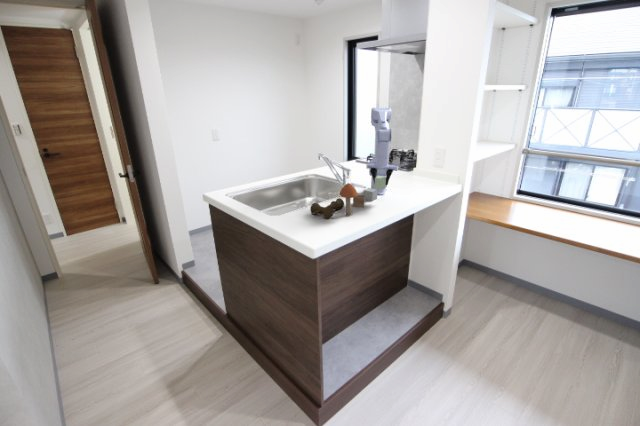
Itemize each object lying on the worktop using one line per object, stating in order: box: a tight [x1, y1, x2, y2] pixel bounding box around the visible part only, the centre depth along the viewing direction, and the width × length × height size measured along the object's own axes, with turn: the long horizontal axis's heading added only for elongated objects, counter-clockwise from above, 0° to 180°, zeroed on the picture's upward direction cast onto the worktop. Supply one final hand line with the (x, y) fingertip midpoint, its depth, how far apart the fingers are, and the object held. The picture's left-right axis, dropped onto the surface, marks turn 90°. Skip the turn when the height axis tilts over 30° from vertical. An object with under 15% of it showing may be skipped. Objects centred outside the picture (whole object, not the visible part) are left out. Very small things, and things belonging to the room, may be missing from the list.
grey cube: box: [363, 187, 378, 202], centre depth 162 cm, size 5×5×5 cm
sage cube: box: [374, 176, 388, 190], centre depth 153 cm, size 5×5×5 cm
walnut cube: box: [352, 193, 365, 208], centre depth 154 cm, size 5×5×5 cm
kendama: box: [309, 198, 345, 220], centre depth 144 cm, size 6×10×20 cm
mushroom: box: [339, 183, 359, 217], centre depth 140 cm, size 8×8×15 cm
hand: (380, 184), depth 153 cm, fingers closed on sage cube, 5 cm apart
